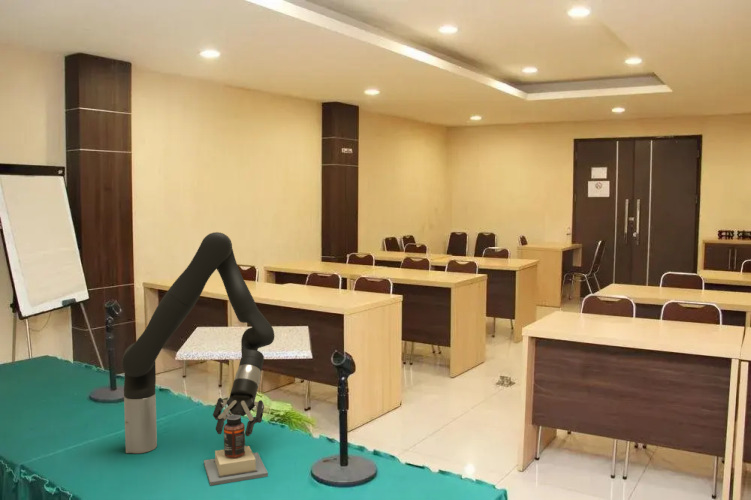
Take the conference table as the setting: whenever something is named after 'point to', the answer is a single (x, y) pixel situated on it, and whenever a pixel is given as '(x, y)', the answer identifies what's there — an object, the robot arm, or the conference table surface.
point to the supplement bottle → (234, 437)
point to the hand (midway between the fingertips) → (232, 434)
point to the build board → (234, 478)
